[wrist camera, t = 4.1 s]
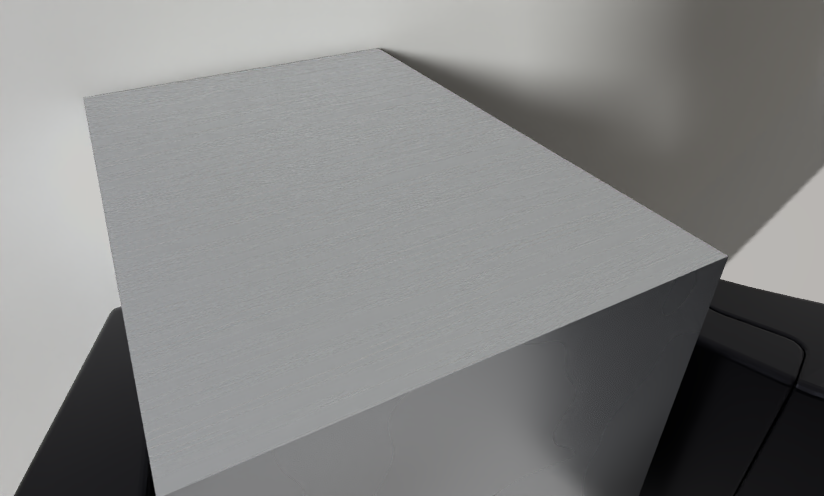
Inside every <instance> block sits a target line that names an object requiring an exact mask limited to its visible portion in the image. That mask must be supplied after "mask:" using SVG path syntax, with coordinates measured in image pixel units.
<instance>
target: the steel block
mask: <svg viewBox="0 0 824 496" xmlns="http://www.w3.org/2000/svg"><path fill="white" fill-rule="evenodd" d="M83 99H84V104H85V110H86V115H87V121H88V126H89V132H90V137H91V143H92V148H93V154H94V159H95V165H96V170H97V176H98V181H99V186H100V192H101V197H102V203H103V208H104V214H105V219H106V225H107V230H108V236H109V241H110V247H111V252H112V258H113V263H114V269H115V274H116V280H117V285H118V290H119V296H120V301H121V307H122V312H123V318H124V323H125V329H126V334H127V340H128V345H129V351H130V356H131V362H132V367H133V373H134V378H135V384H136V389H137V394H138V400H139V405H140V411H141V416H142V422H143V427H144V433H145V438H146V444H147V449H148V455H149V460H150V466H151V471H152V477H153V482H154V488H155V493H156V496H639V493H640V491H641V488H642V485H643V483H644V480H645V477H646V475H647V472H648V469H649V467H650V464H651V461H652V459H653V456H654V453H655V451H656V448H657V445H658V443H659V440H660V437H661V435H662V432H663V429H664V427H665V424H666V421H667V419H668V416H669V413H670V411H671V408H672V405H673V403H674V400H675V397H676V395H677V392H678V389H679V387H680V384H681V381H682V379H683V376H684V373H685V371H686V368H687V365H688V363H689V360H690V357H691V355H692V352H693V349H694V347H695V344H696V341H697V338H698V336H699V333H700V330H701V328H702V325H703V322H704V320H705V317H706V314H707V312H708V309H709V306H710V304H711V301H712V298H713V296H714V293H715V290H716V288H717V285H718V282H719V280H720V277H721V274H722V272H723V269H724V266H725V264H726V261H727V258H728V256H727V255H726V254H724V253H722V252H721V251H719V250H717V249H716V248H714V247H712V246H711V245H709V244H707V243H706V242H704V241H702V240H700V239H699V238H697V237H695V236H694V235H692V234H690V233H689V232H687V231H685V230H684V229H682V228H680V227H679V226H677V225H675V224H674V223H672V222H670V221H668V220H667V219H665V218H663V217H662V216H660V215H658V214H657V213H655V212H653V211H652V210H650V209H648V208H647V207H645V206H643V205H642V204H640V203H638V202H636V201H635V200H633V199H631V198H630V197H628V196H626V195H625V194H623V193H621V192H620V191H618V190H616V189H615V188H613V187H611V186H610V185H608V184H606V183H604V182H603V181H601V180H599V179H598V178H596V177H594V176H593V175H591V174H589V173H588V172H586V171H584V170H583V169H581V168H579V167H578V166H576V165H574V164H572V163H571V162H569V161H567V160H566V159H564V158H562V157H561V156H559V155H557V154H556V153H554V152H552V151H551V150H549V149H547V148H545V147H544V146H542V145H540V144H539V143H537V142H535V141H534V140H532V139H530V138H529V137H527V136H525V135H524V134H522V133H520V132H519V131H517V130H515V129H513V128H512V127H510V126H508V125H507V124H505V123H503V122H502V121H500V120H498V119H497V118H495V117H493V116H492V115H490V114H488V113H487V112H485V111H483V110H481V109H480V108H478V107H476V106H475V105H473V104H471V103H470V102H468V101H466V100H465V99H463V98H461V97H460V96H458V95H456V94H455V93H453V92H451V91H449V90H448V89H446V88H444V87H443V86H441V85H439V84H438V83H436V82H434V81H433V80H431V79H429V78H428V77H426V76H424V75H423V74H421V73H419V72H417V71H416V70H414V69H412V68H411V67H409V66H407V65H406V64H404V63H402V62H401V61H399V60H397V59H396V58H394V57H392V56H391V55H389V54H387V53H385V52H384V51H382V50H380V49H379V48H377V49H372V50H366V51H360V52H354V53H348V54H342V55H336V56H330V57H324V58H318V59H312V60H306V61H300V62H294V63H288V64H282V65H276V66H270V67H264V68H258V69H252V70H246V71H240V72H234V73H228V74H222V75H216V76H210V77H204V78H198V79H192V80H186V81H180V82H174V83H168V84H162V85H156V86H150V87H144V88H139V89H133V90H127V91H121V92H115V93H109V94H103V95H97V96H91V97H85V98H83Z"/></svg>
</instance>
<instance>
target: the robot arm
mask: <svg viewBox="0 0 824 496" xmlns="http://www.w3.org/2000/svg"><path fill="white" fill-rule="evenodd" d="M14 496H156V493H155V488H154V482H153V477H152V471H151V466H150V460H149V455H148V449H147V444H146V438H145V433H144V427H143V422H142V416H141V411H140V405H139V400H138V394H137V389H136V384H135V378H134V373H133V367H132V362H131V356H130V351H129V345H128V340H127V334H126V329H125V323H124V318H123V312H122V307H118V308H115V309H114V310H113V311H111V313H110V315H109V317H108V318H107V320H106V322H105V324H104V326H103V328H102V330H101V332H100V334H99V335H98V337H97V339H96V341H95V343H94V345H93V347H92V349H91V351H90V353H89V354H88V356H87V358H86V360H85V362H84V364H83V366H82V368H81V370H80V371H79V373H78V375H77V377H76V379H75V381H74V383H73V385H72V387H71V389H70V390H69V392H68V394H67V396H66V398H65V400H64V402H63V404H62V406H61V407H60V409H59V411H58V413H57V415H56V417H55V419H54V421H53V423H52V424H51V426H50V428H49V430H48V432H47V434H46V436H45V438H44V440H43V442H42V443H41V445H40V447H39V449H38V451H37V453H36V455H35V457H34V459H33V460H32V462H31V464H30V466H29V468H28V470H27V472H26V474H25V476H24V478H23V479H22V481H21V483H20V485H19V487H18V489H17V491H16V493H15V495H14ZM639 496H824V304H822V303H818V302H814V301H809V300H805V299H800V298H795V297H791V296H787V295H782V294H778V293H773V292H769V291H765V290H761V289H756V288H752V287H748V286H744V285H740V284H736V283H733V282H729V281H725V280H721V279H720V280H719V282H718V285H717V288H716V290H715V293H714V296H713V298H712V301H711V304H710V306H709V309H708V312H707V314H706V317H705V320H704V322H703V325H702V328H701V330H700V333H699V336H698V338H697V341H696V344H695V347H694V349H693V352H692V355H691V357H690V360H689V363H688V365H687V368H686V371H685V373H684V376H683V379H682V381H681V384H680V387H679V389H678V392H677V395H676V397H675V400H674V403H673V405H672V408H671V411H670V413H669V416H668V419H667V421H666V424H665V427H664V429H663V432H662V435H661V437H660V440H659V443H658V445H657V448H656V451H655V453H654V456H653V459H652V461H651V464H650V467H649V469H648V472H647V475H646V477H645V480H644V483H643V485H642V488H641V491H640V493H639Z"/></svg>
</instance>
